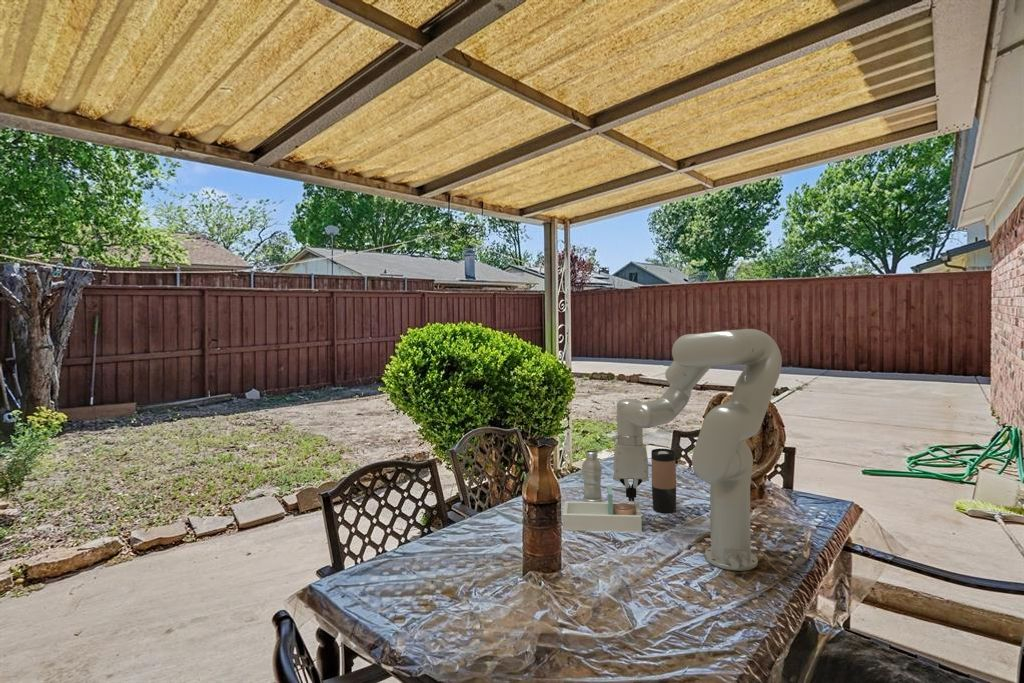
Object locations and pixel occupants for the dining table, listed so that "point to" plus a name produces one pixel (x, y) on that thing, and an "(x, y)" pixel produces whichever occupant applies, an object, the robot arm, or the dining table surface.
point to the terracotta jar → (623, 509)
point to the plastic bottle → (592, 477)
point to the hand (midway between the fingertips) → (631, 499)
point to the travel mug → (663, 480)
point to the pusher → (610, 501)
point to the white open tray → (599, 517)
